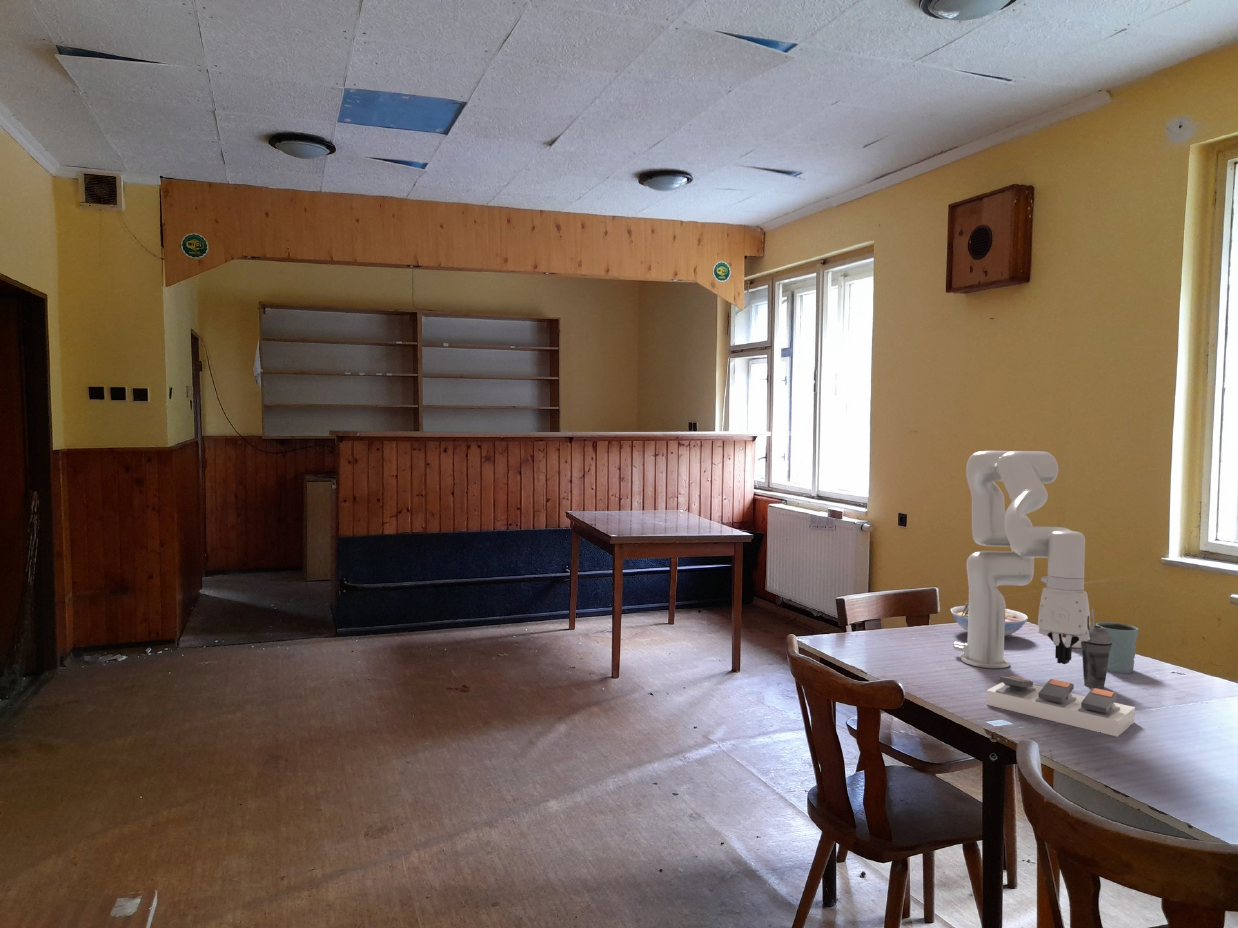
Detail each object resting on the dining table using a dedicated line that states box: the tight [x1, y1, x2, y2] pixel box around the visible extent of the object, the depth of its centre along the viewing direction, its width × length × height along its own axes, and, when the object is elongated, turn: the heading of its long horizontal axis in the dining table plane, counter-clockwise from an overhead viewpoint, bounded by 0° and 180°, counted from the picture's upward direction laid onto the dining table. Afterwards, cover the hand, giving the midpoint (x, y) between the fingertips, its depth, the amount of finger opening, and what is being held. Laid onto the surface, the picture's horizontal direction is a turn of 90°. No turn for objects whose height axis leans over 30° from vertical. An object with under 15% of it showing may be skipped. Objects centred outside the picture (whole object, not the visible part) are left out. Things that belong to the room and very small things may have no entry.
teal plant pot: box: [1095, 621, 1139, 674], centre depth 234 cm, size 10×10×12 cm
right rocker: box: [1081, 688, 1118, 713], centre depth 188 cm, size 5×8×2 cm, turn 135°
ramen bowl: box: [950, 600, 1029, 637], centre depth 269 cm, size 25×23×8 cm
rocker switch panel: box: [985, 682, 1136, 738], centre depth 196 cm, size 28×13×4 cm, turn 45°
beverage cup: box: [1080, 608, 1112, 689], centre depth 218 cm, size 7×7×20 cm
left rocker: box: [998, 676, 1034, 690], centre depth 201 cm, size 5×8×2 cm, turn 135°
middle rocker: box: [1038, 678, 1075, 703], centre depth 195 cm, size 5×8×2 cm, turn 135°
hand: (1063, 662), depth 196 cm, fingers closed
